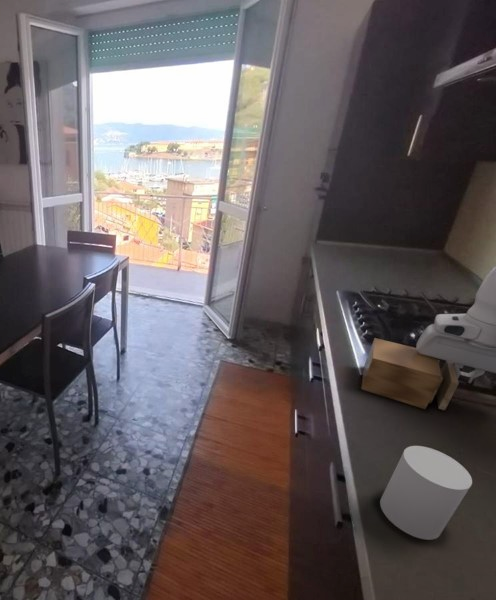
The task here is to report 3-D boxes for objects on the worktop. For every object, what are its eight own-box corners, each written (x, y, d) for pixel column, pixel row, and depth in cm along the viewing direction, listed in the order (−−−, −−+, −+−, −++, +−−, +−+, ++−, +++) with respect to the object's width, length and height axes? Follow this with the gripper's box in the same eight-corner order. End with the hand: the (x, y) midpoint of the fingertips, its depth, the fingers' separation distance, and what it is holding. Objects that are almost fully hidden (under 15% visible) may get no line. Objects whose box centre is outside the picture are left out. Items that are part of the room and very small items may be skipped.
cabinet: (422, 384, 92) (436, 353, 88) (425, 409, 84) (441, 376, 80) (363, 367, 99) (374, 337, 95) (361, 389, 91) (372, 357, 87)
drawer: (446, 388, 89) (459, 363, 86) (451, 412, 82) (466, 385, 78) (384, 371, 96) (393, 346, 93) (383, 391, 89) (393, 365, 85)
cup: (454, 539, 57) (488, 489, 52) (403, 539, 58) (432, 489, 52) (414, 493, 65) (440, 445, 60) (369, 493, 65) (391, 445, 60)
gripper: (553, 338, 76) (520, 389, 82) (428, 312, 87) (407, 359, 93) (563, 351, 71) (528, 405, 77) (430, 322, 83) (408, 371, 88)
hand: (461, 380), depth 85 cm, fingers closed
